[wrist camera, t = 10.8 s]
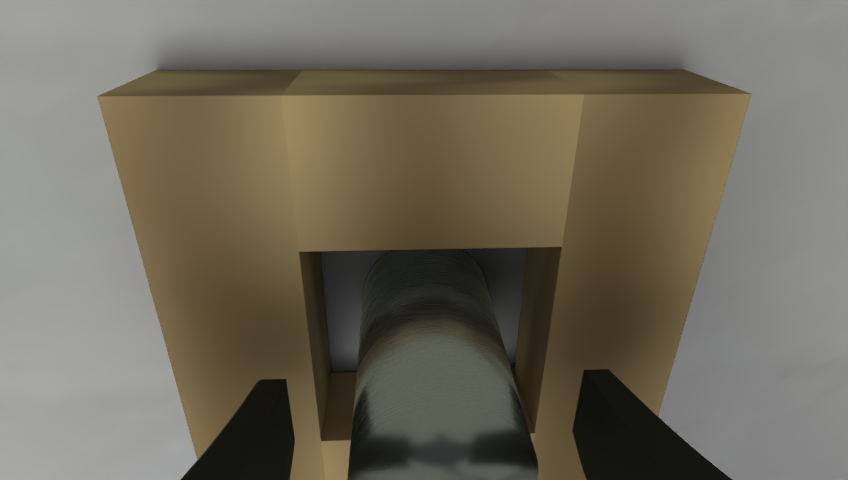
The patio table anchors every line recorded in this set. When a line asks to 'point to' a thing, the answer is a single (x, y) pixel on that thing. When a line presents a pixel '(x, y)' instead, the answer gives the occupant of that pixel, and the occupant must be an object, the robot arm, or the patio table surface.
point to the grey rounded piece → (434, 377)
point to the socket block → (419, 222)
